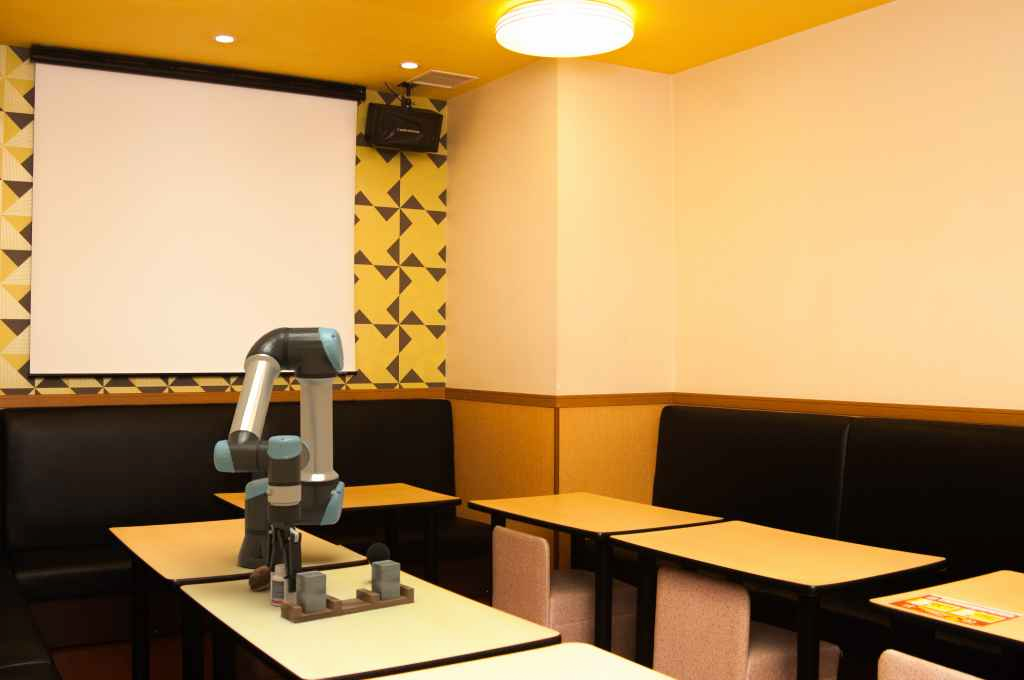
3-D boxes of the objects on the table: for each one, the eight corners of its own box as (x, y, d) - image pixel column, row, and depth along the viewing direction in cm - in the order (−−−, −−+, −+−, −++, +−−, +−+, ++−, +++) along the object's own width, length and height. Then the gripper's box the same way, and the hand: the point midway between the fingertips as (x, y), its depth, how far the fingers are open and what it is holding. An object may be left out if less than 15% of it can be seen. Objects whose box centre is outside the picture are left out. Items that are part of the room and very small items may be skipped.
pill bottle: (289, 607, 229) (289, 568, 229) (267, 606, 230) (268, 567, 230) (298, 601, 234) (299, 563, 234) (277, 600, 235) (278, 562, 235)
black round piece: (388, 585, 250) (388, 545, 250) (364, 585, 251) (364, 545, 251) (391, 580, 256) (391, 540, 256) (368, 580, 256) (368, 540, 256)
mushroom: (289, 572, 250) (274, 554, 248) (279, 592, 242) (264, 573, 241) (264, 585, 252) (249, 567, 250) (254, 605, 245) (238, 586, 243)
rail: (280, 616, 222) (281, 574, 222) (397, 595, 240) (398, 557, 240) (295, 623, 216) (295, 580, 216) (413, 602, 235) (414, 562, 235)
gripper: (251, 499, 238) (250, 596, 238) (287, 510, 222) (286, 614, 222) (281, 496, 242) (280, 592, 242) (318, 507, 227) (317, 609, 227)
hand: (283, 602), depth 232 cm, fingers open, 7 cm apart
